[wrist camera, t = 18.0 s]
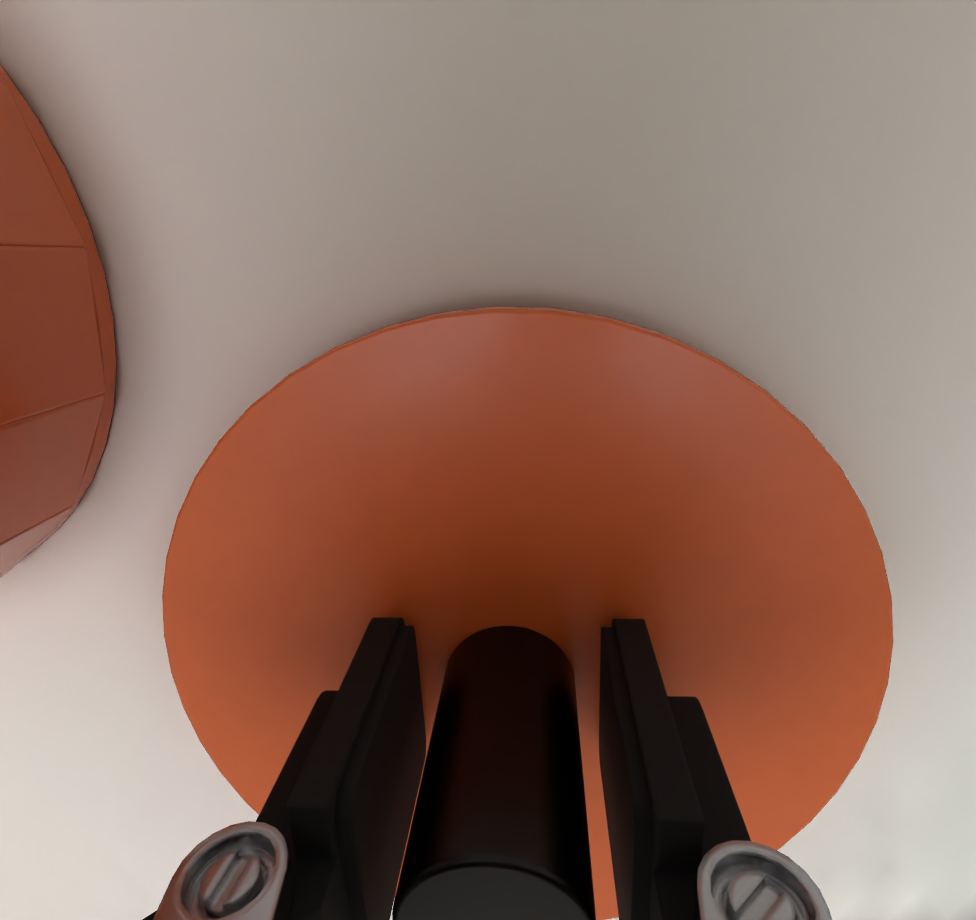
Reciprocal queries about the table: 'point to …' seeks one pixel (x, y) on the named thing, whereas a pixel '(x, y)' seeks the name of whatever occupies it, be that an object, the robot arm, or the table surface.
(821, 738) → the pot lid
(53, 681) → the table surface
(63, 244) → the pot
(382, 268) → the table surface
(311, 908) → the robot arm
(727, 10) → the table surface
